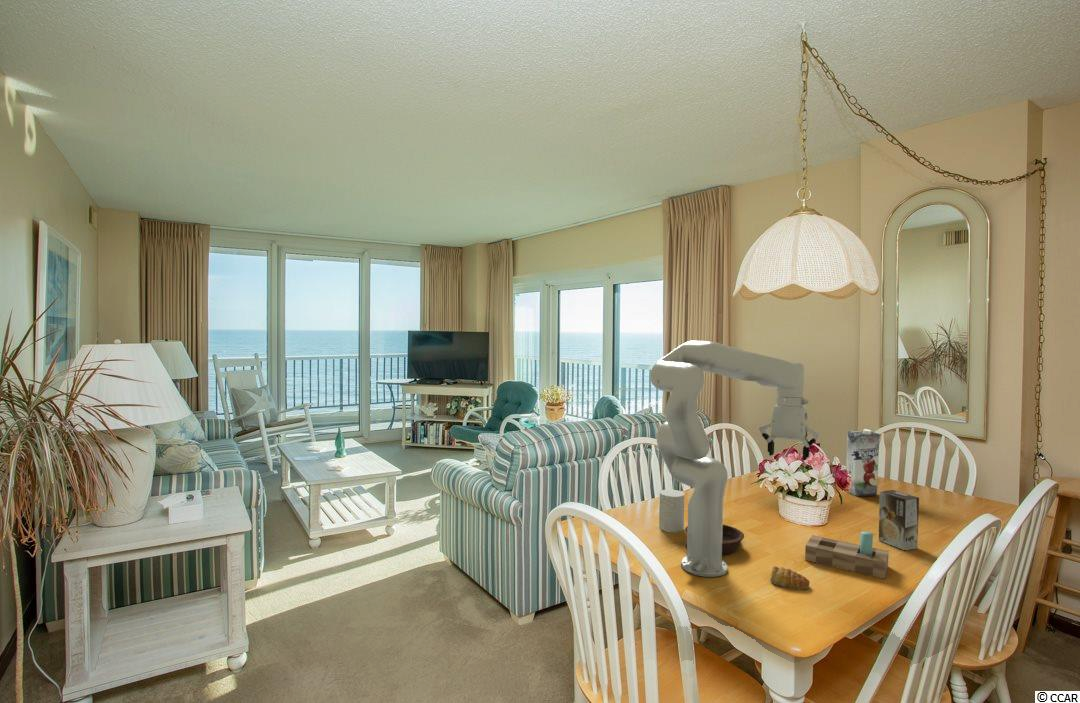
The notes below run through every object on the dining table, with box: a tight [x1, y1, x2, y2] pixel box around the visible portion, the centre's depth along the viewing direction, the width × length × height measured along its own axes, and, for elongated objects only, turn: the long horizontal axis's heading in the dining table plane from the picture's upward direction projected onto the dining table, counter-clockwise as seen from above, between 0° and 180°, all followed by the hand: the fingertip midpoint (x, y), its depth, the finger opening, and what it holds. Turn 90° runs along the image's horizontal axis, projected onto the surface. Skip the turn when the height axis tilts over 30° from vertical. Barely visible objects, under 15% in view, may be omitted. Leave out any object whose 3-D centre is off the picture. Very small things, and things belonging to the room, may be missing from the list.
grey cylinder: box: [658, 488, 685, 533], centre depth 189 cm, size 8×8×12 cm
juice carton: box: [845, 428, 881, 497], centre depth 229 cm, size 9×10×27 cm
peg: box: [859, 530, 874, 556], centre depth 159 cm, size 3×3×10 cm
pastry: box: [769, 565, 810, 590], centre depth 149 cm, size 9×7×4 cm
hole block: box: [804, 534, 889, 579], centre depth 162 cm, size 10×20×4 cm, turn 54°
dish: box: [684, 524, 745, 556], centre depth 174 cm, size 18×22×5 cm
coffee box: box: [878, 489, 920, 551], centre depth 176 cm, size 9×6×16 cm
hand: (787, 457), depth 172 cm, fingers open, 9 cm apart
